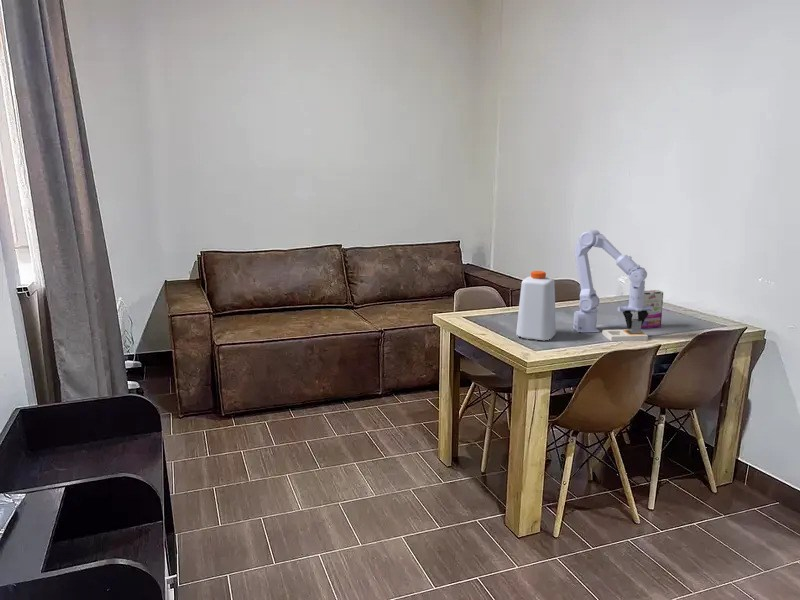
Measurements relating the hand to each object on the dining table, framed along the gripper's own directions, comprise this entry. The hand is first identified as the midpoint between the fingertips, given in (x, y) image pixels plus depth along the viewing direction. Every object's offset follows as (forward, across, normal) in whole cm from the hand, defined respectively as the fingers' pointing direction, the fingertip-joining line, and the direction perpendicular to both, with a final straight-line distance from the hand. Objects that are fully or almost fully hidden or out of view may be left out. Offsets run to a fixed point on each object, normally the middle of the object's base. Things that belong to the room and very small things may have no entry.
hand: (634, 328), depth 254 cm
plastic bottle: (+4, -40, +5) cm, 41 cm away
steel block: (+3, 0, 0) cm, 3 cm away
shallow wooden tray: (+4, -4, 0) cm, 5 cm away
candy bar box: (+4, +12, +15) cm, 20 cm away
